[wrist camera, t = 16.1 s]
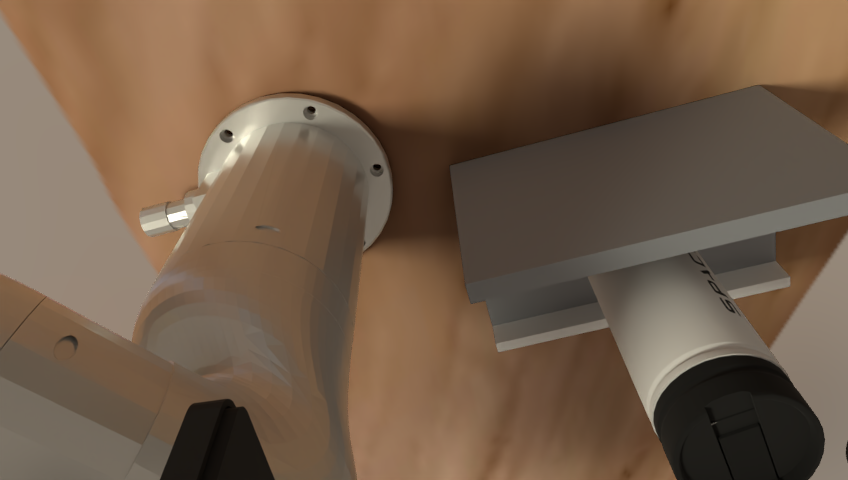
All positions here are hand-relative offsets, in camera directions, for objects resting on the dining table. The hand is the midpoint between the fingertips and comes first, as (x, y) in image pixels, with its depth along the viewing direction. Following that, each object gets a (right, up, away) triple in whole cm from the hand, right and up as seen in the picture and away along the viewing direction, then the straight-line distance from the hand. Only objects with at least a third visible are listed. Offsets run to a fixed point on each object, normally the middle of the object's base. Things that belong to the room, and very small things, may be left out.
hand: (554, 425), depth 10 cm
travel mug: (+11, +4, +35) cm, 37 cm away
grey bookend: (+11, +5, +36) cm, 38 cm away
